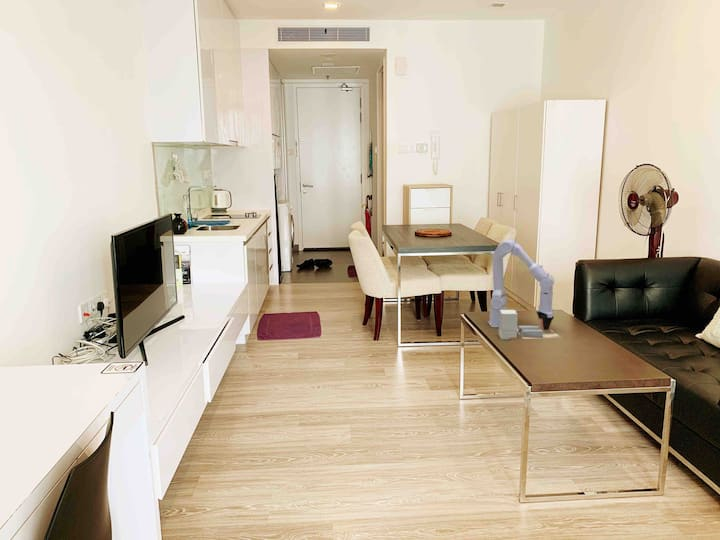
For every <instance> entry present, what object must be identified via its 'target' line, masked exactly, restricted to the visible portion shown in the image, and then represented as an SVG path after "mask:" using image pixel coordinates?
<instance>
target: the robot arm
mask: <svg viewBox="0 0 720 540" xmlns="http://www.w3.org/2000/svg"><path fill="white" fill-rule="evenodd" d="M509 254H510V255H512V256H516V257H518V258H519V259H520V260H521V261H522V262H523V263H524V264H525V265H526V266H527V267H528V272H529V274H531V275H532V277H533V278H534V279H535V280H537V282H539V287H540V291H539V303H538V304H539V305H538V311H536V314H537V317H538V318H542V320H543V328H544V330H548V329H549V327H550V324H551V325H552V323H551V321H552V322H553V319H554V318H555V317H554V316H553V312H554V311H555V310H554V309H553V293H554V292H553V291H554V287H553V286H554V284H555V279H554V277H553V276H552V275H550V273H549V272H548V273H547V271H546V270H545V268H543V267H544V266H543V265H542V264H539V263H535V262H534V261H533V259H531V257H530V256H529V255H528V254H527V252H526V251H525V250H524V249H523V248H522V246H521V245H520V244H519V243H518V242H517V240H515V239H513V238H507V239H505V240H503V241H502V242H501V243H499V244H498V245H497V247H496V248H495V250H494V252H493V253H492V281H493V285H492V287H493V290H492V294H491V299H490V302H489V303H490V304H489V305H490V306H491V307H490V309H489V320H488V321H487V324H489V326H490V328H499V314H500V310H507V308H506V304H507V303H508V297H507V295H506V291H505V288H504V287H505V286H504V285H505V284H504V283H505V282H504V258H505V257H506V256H507V255H509ZM538 318H537V319H538Z"/></svg>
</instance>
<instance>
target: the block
mask: <svg viewBox="0 0 720 540" xmlns="http://www.w3.org/2000/svg"><path fill="white" fill-rule="evenodd" d="M552 322H553V320H552V321H551V324H550V327H549V329H548V330H544V328H543V320H542V318H537V326H538V327H539V328H540V329H541V330H542V331H551V329H552Z"/></svg>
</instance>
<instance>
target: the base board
mask: <svg viewBox="0 0 720 540" xmlns="http://www.w3.org/2000/svg"><path fill="white" fill-rule="evenodd" d="M517 334H518V335H519V336H520V337H521V338H522V339H526V340H527V339H528V340H529V339H530V340H531V339H535V340H536V339H540V340H541V339H545V340H546V339H548V340H549V339H553V340H554V339H555V340H556V339H557V340H558V339H563V338H562V337H561V336H560V335H559V334H558V333H556V331H554V329H552V328H551V331H542V330H541V329H540V328H539V327H538V325H517Z"/></svg>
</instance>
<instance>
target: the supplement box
mask: <svg viewBox="0 0 720 540" xmlns="http://www.w3.org/2000/svg"><path fill="white" fill-rule="evenodd" d="M518 315H519V314H518V313H517V311H516V309H506V310H500V314H499V327H498V336H499V338H500V340H511V339H512V338H513V339H517V337H518V335H517V334H518V332H517V327H518V319H519V318H518Z"/></svg>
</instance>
